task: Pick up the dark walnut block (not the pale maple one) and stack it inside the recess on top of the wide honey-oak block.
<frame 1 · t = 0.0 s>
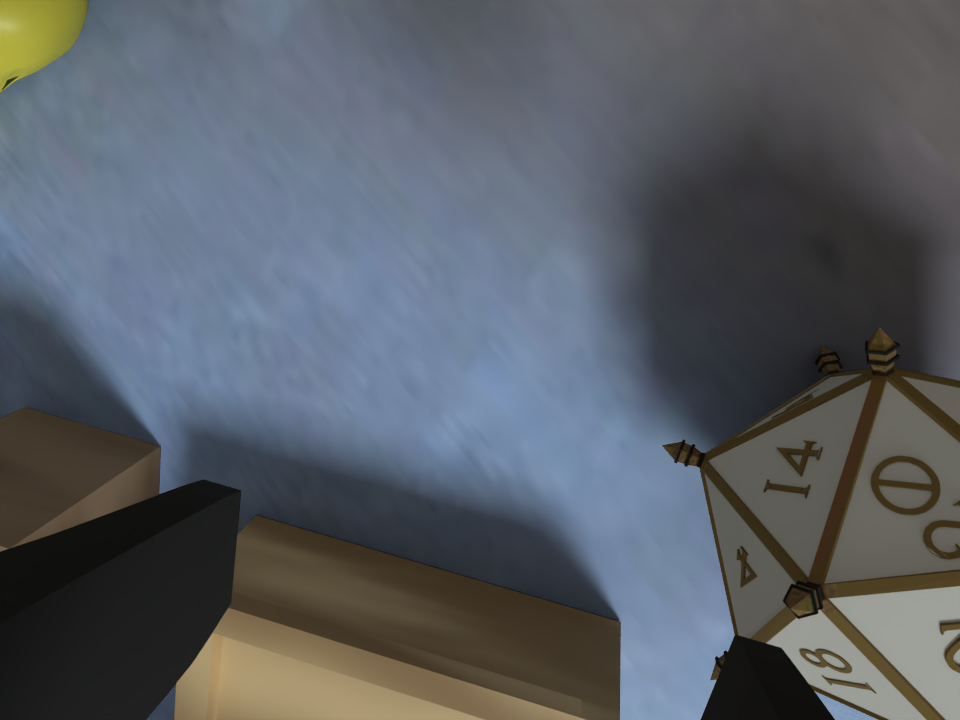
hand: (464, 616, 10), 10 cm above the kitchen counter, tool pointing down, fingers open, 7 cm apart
walnut cube: (92, 490, 24), on the kitchen counter
game die: (837, 451, 19), on the kitchen counter
yellow oval lump: (4, 32, 20), on the kitchen counter
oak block: (403, 709, 24), on the kitchen counter
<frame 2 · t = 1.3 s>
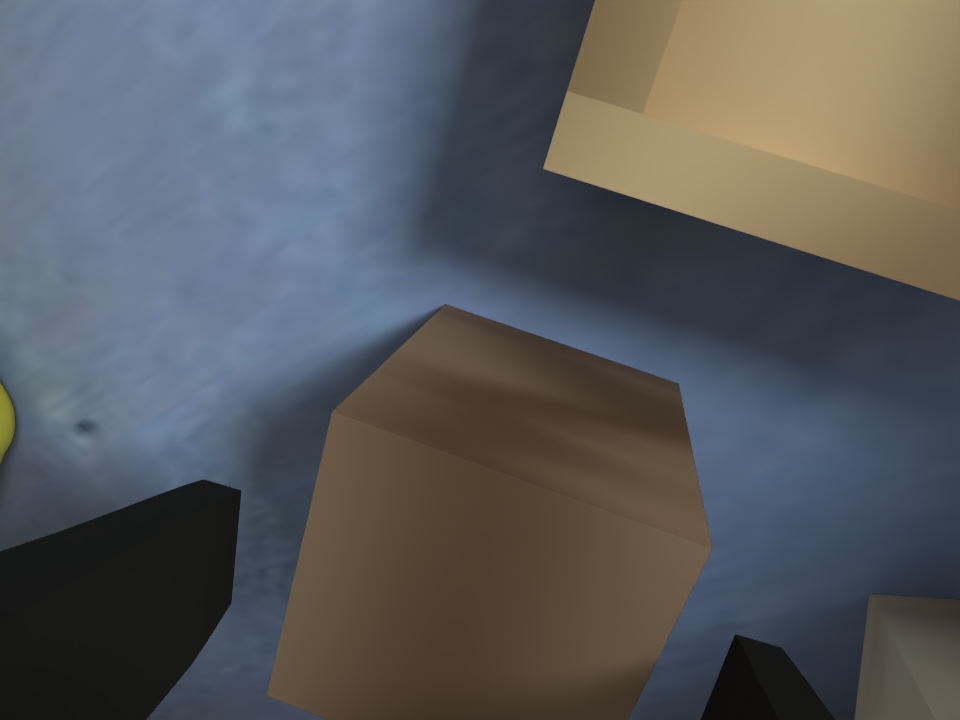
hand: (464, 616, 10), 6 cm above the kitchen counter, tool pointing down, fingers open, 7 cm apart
walnut cube: (523, 446, 15), on the kitchen counter
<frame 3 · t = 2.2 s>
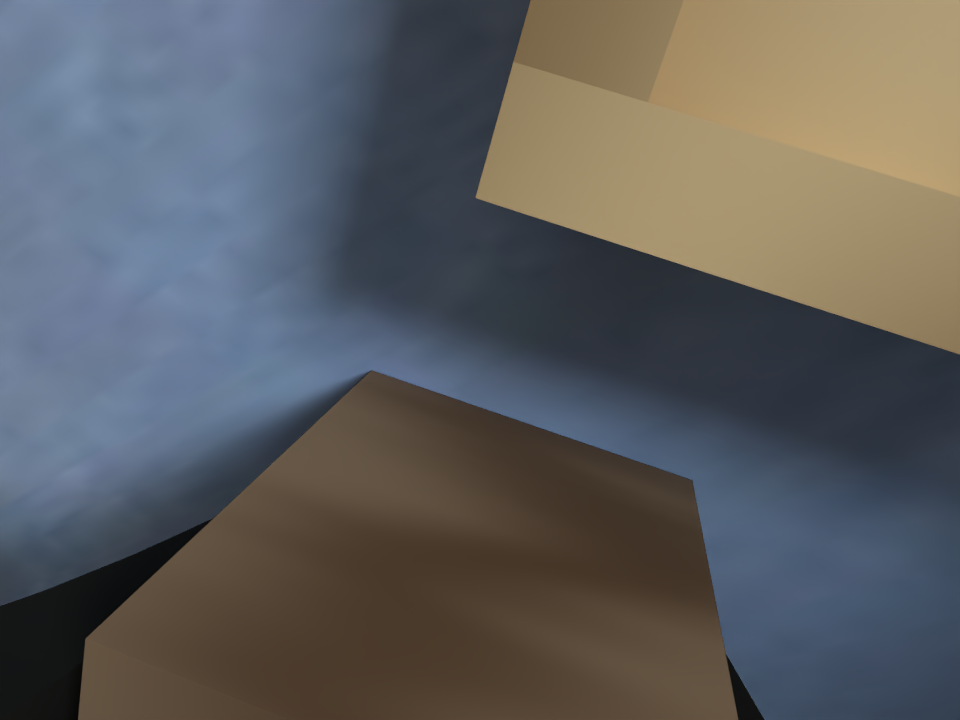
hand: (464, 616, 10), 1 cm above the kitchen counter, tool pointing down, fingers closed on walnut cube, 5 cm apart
walnut cube: (482, 558, 11), on the kitchen counter, touching gripper
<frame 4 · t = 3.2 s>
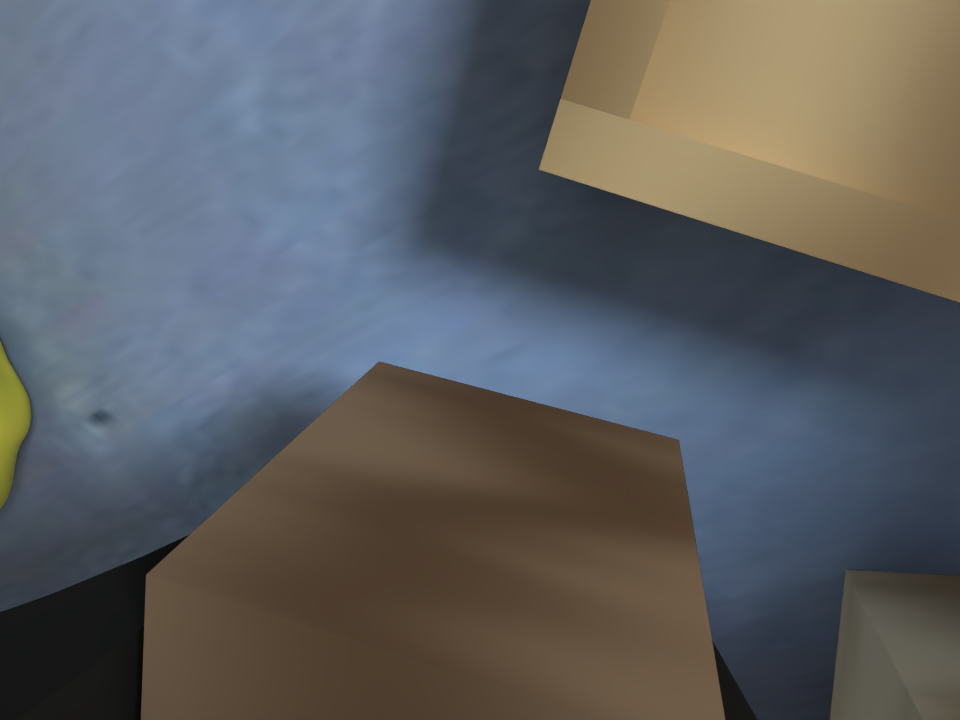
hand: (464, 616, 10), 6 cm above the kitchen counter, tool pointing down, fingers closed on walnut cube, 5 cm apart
maple cube: (954, 670, 16), on the kitchen counter
walnut cube: (493, 529, 12), point 4 cm above the kitchen counter, touching gripper
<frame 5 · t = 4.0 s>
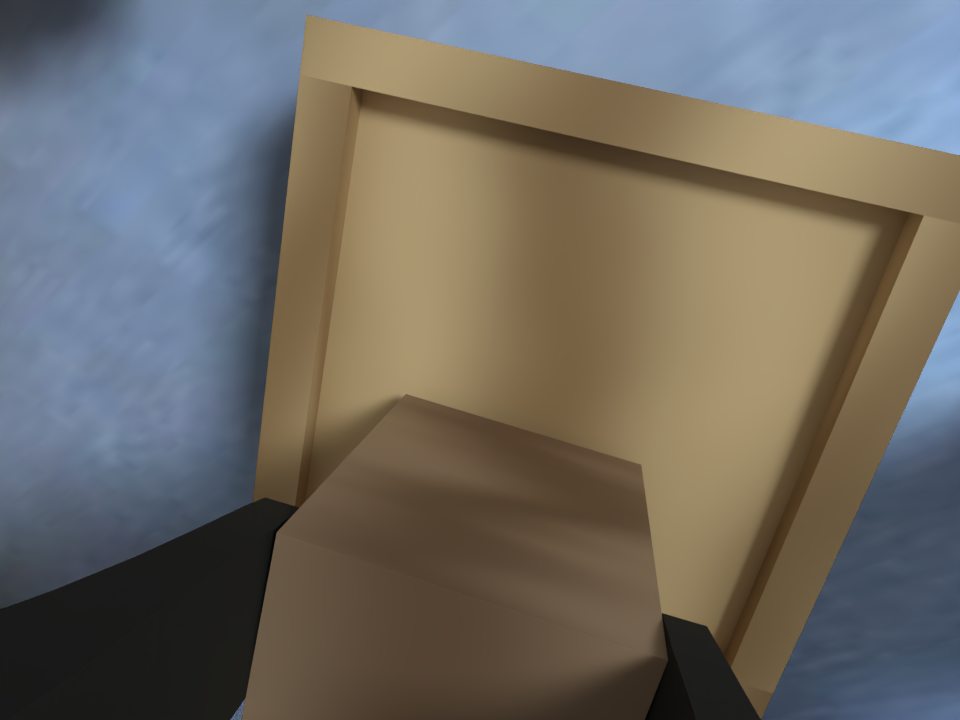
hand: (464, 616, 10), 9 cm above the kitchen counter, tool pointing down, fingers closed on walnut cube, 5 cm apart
walnut cube: (491, 533, 15), point 4 cm above the kitchen counter, touching gripper
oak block: (569, 347, 18), on the kitchen counter
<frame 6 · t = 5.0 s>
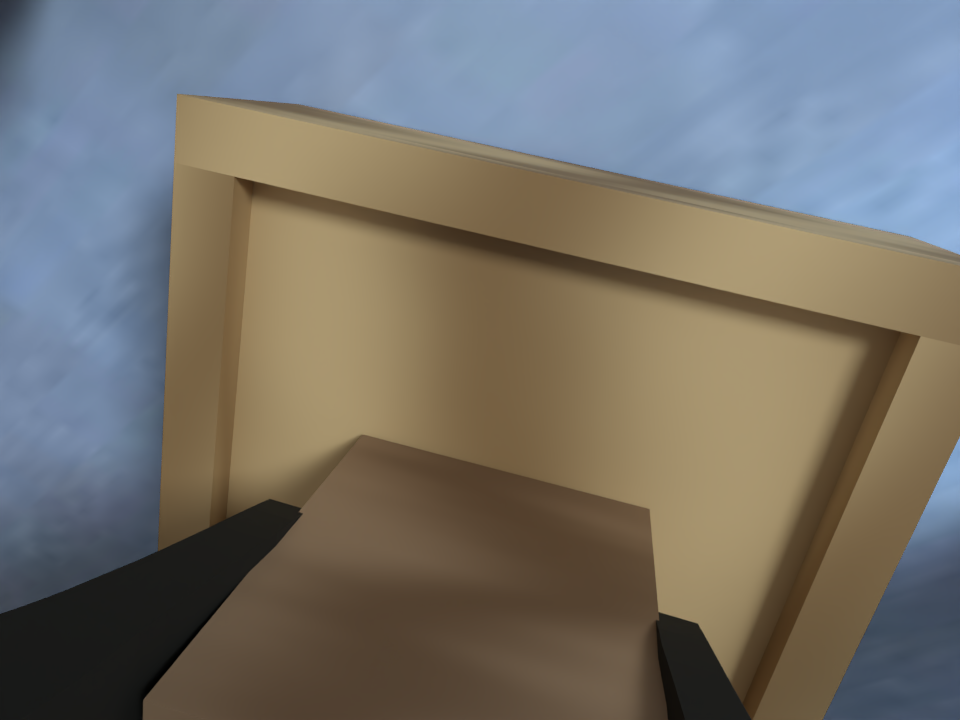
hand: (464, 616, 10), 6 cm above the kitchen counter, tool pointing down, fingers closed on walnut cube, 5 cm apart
walnut cube: (475, 590, 13), point 4 cm above the kitchen counter, touching gripper
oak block: (521, 441, 15), on the kitchen counter
when the fingers open (6 cm above the kitchen counter, at t = 5.2 s): walnut cube stays where it is, resting on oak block.
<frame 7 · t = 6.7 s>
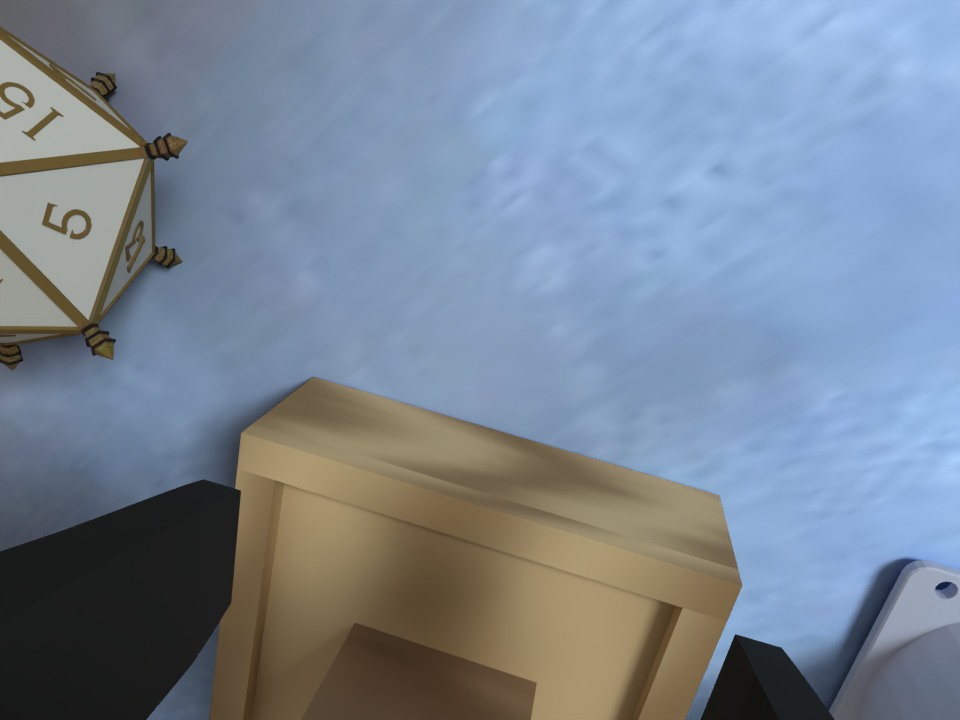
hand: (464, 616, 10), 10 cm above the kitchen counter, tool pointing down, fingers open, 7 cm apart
game die: (110, 183, 20), on the kitchen counter
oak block: (465, 601, 22), on the kitchen counter
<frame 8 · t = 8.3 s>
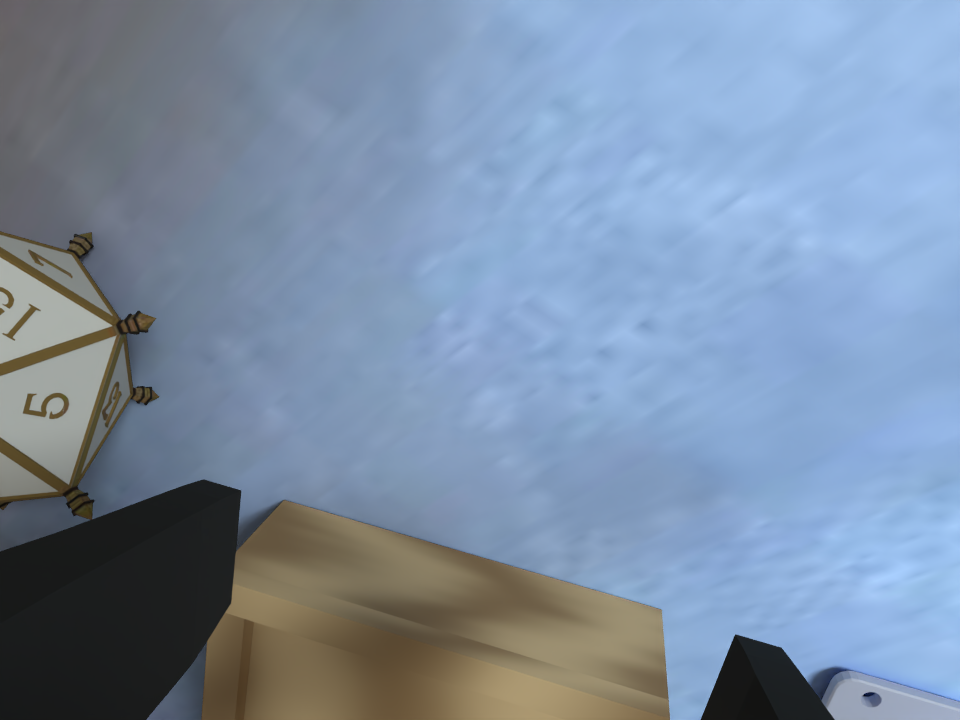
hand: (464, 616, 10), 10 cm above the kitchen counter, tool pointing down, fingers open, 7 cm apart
game die: (91, 325, 22), on the kitchen counter
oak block: (433, 701, 23), on the kitchen counter
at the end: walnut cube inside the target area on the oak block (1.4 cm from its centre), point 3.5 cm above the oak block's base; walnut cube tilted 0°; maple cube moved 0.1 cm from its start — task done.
